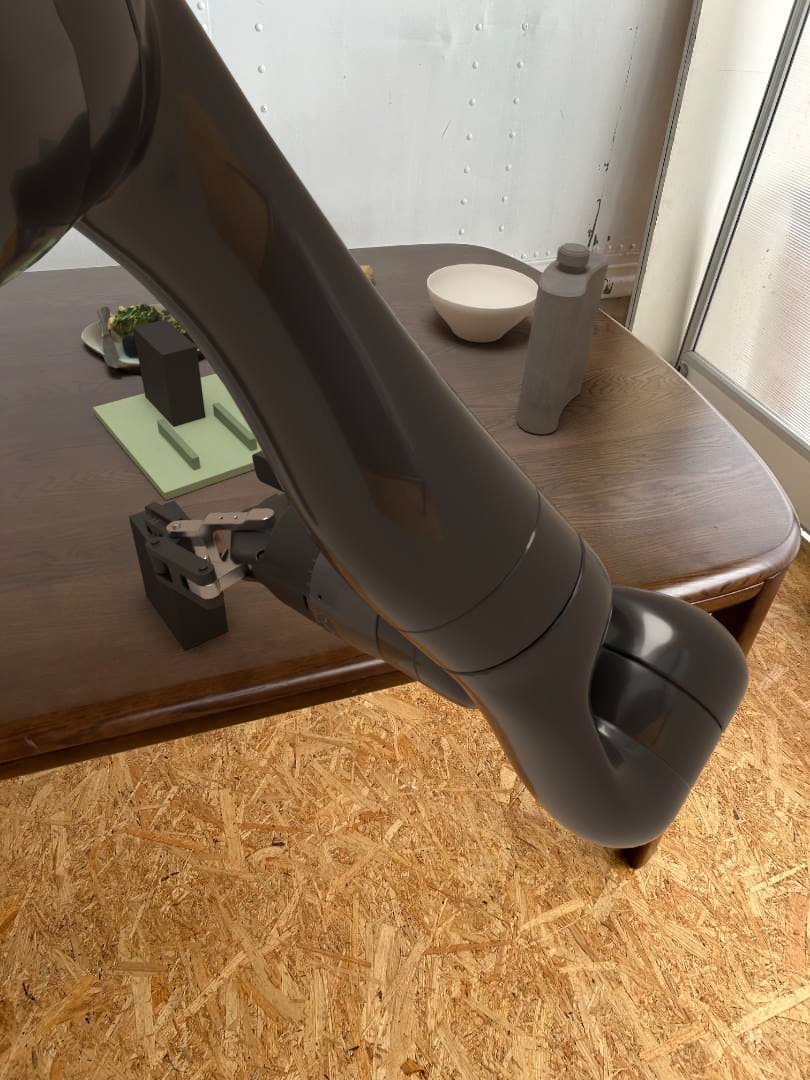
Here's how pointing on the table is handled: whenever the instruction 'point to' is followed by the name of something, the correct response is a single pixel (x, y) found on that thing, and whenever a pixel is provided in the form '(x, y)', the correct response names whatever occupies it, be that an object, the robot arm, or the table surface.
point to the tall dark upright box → (176, 593)
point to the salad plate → (125, 333)
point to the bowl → (481, 299)
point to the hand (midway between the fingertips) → (207, 489)
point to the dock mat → (195, 434)
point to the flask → (560, 336)
